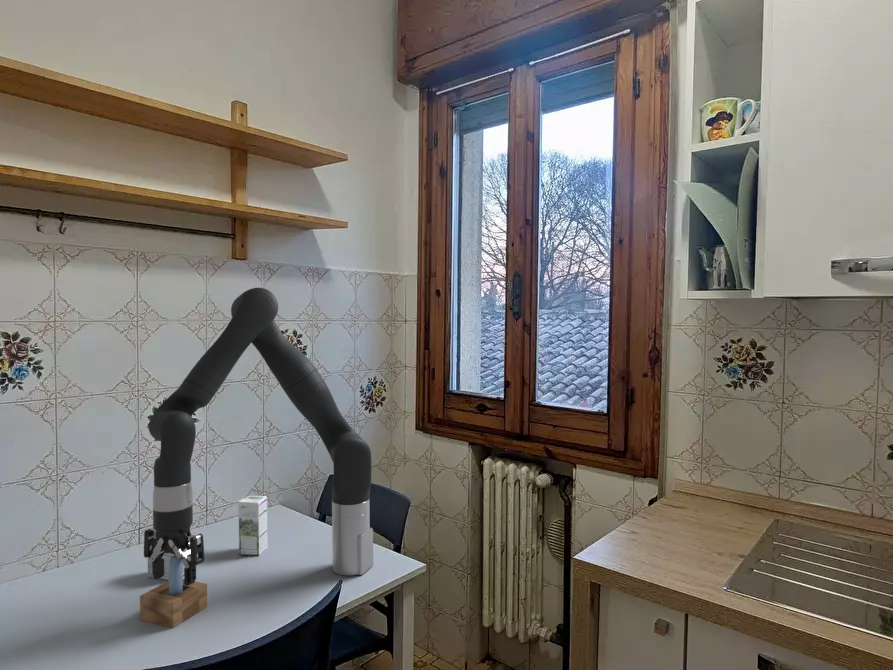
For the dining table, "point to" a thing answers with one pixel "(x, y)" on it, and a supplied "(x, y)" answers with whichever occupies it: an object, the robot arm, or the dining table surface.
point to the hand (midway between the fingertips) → (174, 580)
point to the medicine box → (166, 565)
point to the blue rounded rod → (175, 576)
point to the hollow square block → (172, 604)
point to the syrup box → (252, 525)
